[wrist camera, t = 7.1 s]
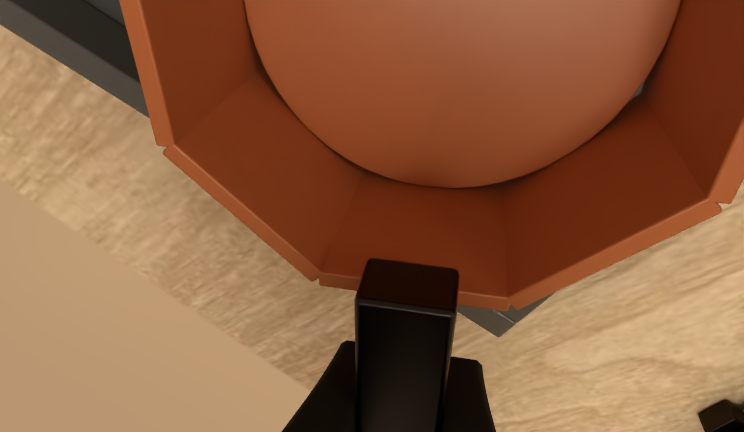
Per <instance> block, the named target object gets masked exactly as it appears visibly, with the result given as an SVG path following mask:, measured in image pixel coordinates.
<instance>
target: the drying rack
mask: <svg viewBox="0 0 744 432" xmlns="http://www.w3.org/2000/svg"><path fill="white" fill-rule="evenodd" d="M699 419H700V421H701V424H702V426H703V429H704V431H705V432H744V412H743V411H742V410H740V409H739V408H737V407H736V406H734V405H733V404H731V403H730V402H728V401H724V402H722V403H720V404H718V405H716V406H714V407H712V408H710V409H708V410H706V411H704V412H702V413H700V414H699Z"/></svg>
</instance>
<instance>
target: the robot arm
mask: <svg viewBox="0 0 744 432" xmlns="http://www.w3.org/2000/svg"><path fill="white" fill-rule="evenodd" d="M282 432H357V410H356V357H355V342H354V341H348V340H347V341H345V342H343V343H342V344H341V345H340V347H339V349H338V351H337V353H336V354H335V356H334V358H333V359H332V361H331V363H330V364H329V366H328V367H327V369H326V371H325V372H324V374H323V375H322V377H321V378H320V380H319V381H318V383H317V384H316V385H315V387H314V388H313V390H312V391H311V393H310V394H309V396H308V397H307V399H306V400H305V401H304V403H303V404H302V405H301V407H300V408H299V409H298V411H297V412H296V413H295V415H294V416H293V417H292V419H291V420H290V421H289V423H288V424H287V425H286V427H285V428H284V429H283V431H282ZM440 432H496V430H495V426H494V422H493V419H492V415H491V411H490V407H489V403H488V399H487V394H486V389H485V384H484V378H483V370H482V365H481V364H480V363H479V362H478V361H477V360H471V359H464V358H458V357H450V364H449V372H448V379H447V386H446V393H445V400H444V407H443V414H442V421H441V428H440Z"/></svg>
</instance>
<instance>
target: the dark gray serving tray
mask: <svg viewBox="0 0 744 432" xmlns="http://www.w3.org/2000/svg"><path fill="white" fill-rule="evenodd" d="M0 25H2V26H3V27H5V28H7V29H8V30H10V31H11V32H13V33H15V34H16V35H18V36H19V37H21V38H23V39H24V40H26V41H27V42H29V43H31V44H32V45H34V46H35V47H37V48H38V49H40V50H42V51H43V52H45V53H46V54H48V55H50V56H51V57H53V58H54V59H56V60H58V61H59V62H61V63H62V64H64V65H66V66H67V67H69V68H70V69H72V70H74V71H75V72H77V73H78V74H80V75H81V76H83V77H85V78H86V79H88V80H89V81H91V82H93V83H94V84H96V85H97V86H99V87H101V88H102V89H104V90H105V91H107V92H109V93H110V94H112V95H113V96H115V97H116V98H118V99H120V100H121V101H123V102H124V103H126V104H128V105H129V106H131V107H132V108H134V109H136V110H137V111H139V112H140V113H142V114H144V115H145V116H147V117H148V118H150V117H149V113H148V109H147V105H146V101H145V98H144V94H143V90H142V86H141V82H140V78H139V75H138V71H137V67H136V63H135V59H134V55H133V52H132V48H131V44H130V40H129V36H128V32H127V29H126V25H125V21H124V17H123V13H122V10H121V6H120V2H119V0H0ZM263 66H264V65H263ZM643 84H644V82H643V83H642V85H641V86H640V88H639V89H638V90H637V92H636V93H635V95H634V96H633V97H632V99H633V98H634V97H636V96H637V95H639V94H640V93H641V91H642V87H643ZM554 293H555V292H554ZM554 293H552V294H550V295H548V296H546V297H544V298H541V299H539V300H537V301H535V302H533V303H531V304H529V305H527V306H525V307H523V308H521V309H519V310H515V309H514V308H513V307H512V306H511V305H510V306H509V310H508V311H499V310H492V309H485V308H478V307H470V306H463V305H457V312H459V313H460V314H462V315H463V316H465V317H467V318H468V319H470V320H471V321H473V322H475V323H476V324H478V325H479V326H481V327H483V328H484V329H486V330H487V331H489V332H491V333H492V334H494V335H495V336H497V337H500V336H502V335H503V334H504V333H505V332H507V331H508V330H509V329H510V328H512V327H513V326H514V325H515V324H516V323H518V322H519V321H520V320H522V319H523V318H524V317H525V316H527V315H528V314H529V313H530V312H532V311H533V310H534V309H535V308H536V307H538V306H539V305H540V304H541V303H543V302H544V301H545V300H546V299H548V298H549V297H550V296H551V295H553V294H554Z"/></svg>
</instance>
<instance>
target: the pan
mask: <svg viewBox="0 0 744 432" xmlns="http://www.w3.org/2000/svg"><path fill="white" fill-rule="evenodd" d="M119 2H120V6H121V10H122V13H123V17H124V21H125V25H126V29H127V32H128V36H129V40H130V44H131V48H132V52H133V55H134V59H135V63H136V67H137V71H138V75H139V78H140V82H141V86H142V90H143V94H144V98H145V101H146V105H147V109H148V113H149V117H150V121H151V124H152V128H153V132H154V136H155V140H156V143H157V145H158V146H164V147H167V148H166V149H165V150H164V151H163V155H164V156H166V157H167V158H168V159H169V160H170V161H171V162H173V163H174V164H175V165H176V166H177V167H178V168H180V169H181V170H182V171H183V172H184V173H185V174H187V175H188V176H189V177H190V178H191V179H192V180H194V181H195V182H196V183H197V184H198V185H199V186H201V187H202V188H203V189H204V190H205V191H206V192H208V193H209V194H210V195H211V196H212V197H213V198H215V199H216V200H217V201H218V202H219V203H220V204H222V205H223V206H224V207H225V208H226V209H227V210H229V211H230V212H231V213H232V214H233V215H234V216H236V217H237V218H238V219H239V220H240V221H241V222H243V223H244V224H245V225H246V226H247V227H248V228H250V229H251V230H252V231H253V232H254V233H255V234H257V235H258V236H259V237H260V238H261V239H262V240H264V241H265V242H266V243H267V244H268V245H269V246H271V247H272V248H273V249H274V250H275V251H276V252H277V253H279V254H280V255H281V256H282V257H283V258H284V259H286V260H287V261H288V262H289V263H290V264H291V265H293V266H294V267H295V268H296V269H297V270H298V271H300V272H301V273H302V274H303V275H304V276H305V277H307V278H308V279H309V280H310V281H312V282H313V281H314V280H316V279H317V278H319V285H321V286H327V287H334V288H342V289H349V290H356V291H357V294H356V297H355V300H354V303H355V357H356V410H357V432H440V428H441V421H442V414H443V407H444V400H445V393H446V386H447V379H448V372H449V364H450V357H451V350H452V343H453V336H454V329H455V322H456V315H457V305H463V306H470V307H478V308H485V309H492V310H499V311H508V310H509V306H510V305H511V306H512V307H513V308H514V309H515V310H519V309H521V308H523V307H525V306H527V305H529V304H531V303H533V302H535V301H537V300H539V299H541V298H544V297H546V296H548V295H550V294H552V293H554V292H556V291H558V290H560V289H562V288H564V287H567V286H569V285H571V284H573V283H575V282H577V281H579V280H581V279H583V278H585V277H587V276H589V275H592V274H594V273H596V272H598V271H600V270H602V269H604V268H606V267H608V266H610V265H612V264H615V263H617V262H619V261H621V260H623V259H625V258H627V257H629V256H631V255H633V254H635V253H637V252H640V251H642V250H644V249H646V248H648V247H650V246H652V245H654V244H656V243H658V242H660V241H663V240H665V239H667V238H669V237H671V236H673V235H675V234H677V233H679V232H681V231H683V230H686V229H688V228H690V227H692V226H694V225H696V224H698V223H700V222H702V221H704V220H706V219H708V218H711V217H713V216H715V215H717V214H719V213H721V212H722V208H721V207H720V205H719V204H718V203H726V204H730V203H732V201H733V199H734V197H735V195H736V193H737V191H738V189H739V187H740V185H741V183H742V181H743V179H744V0H119ZM263 65H264V66H263ZM643 82H644V84H643V87H642V91H641V93H640V94H639V95H637V96H636V97H634V98H633V99H632V97H633V96H634V95H635V93H636V92H637V90H638V89H639V88H640V86H641V85H642V83H643Z"/></svg>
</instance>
